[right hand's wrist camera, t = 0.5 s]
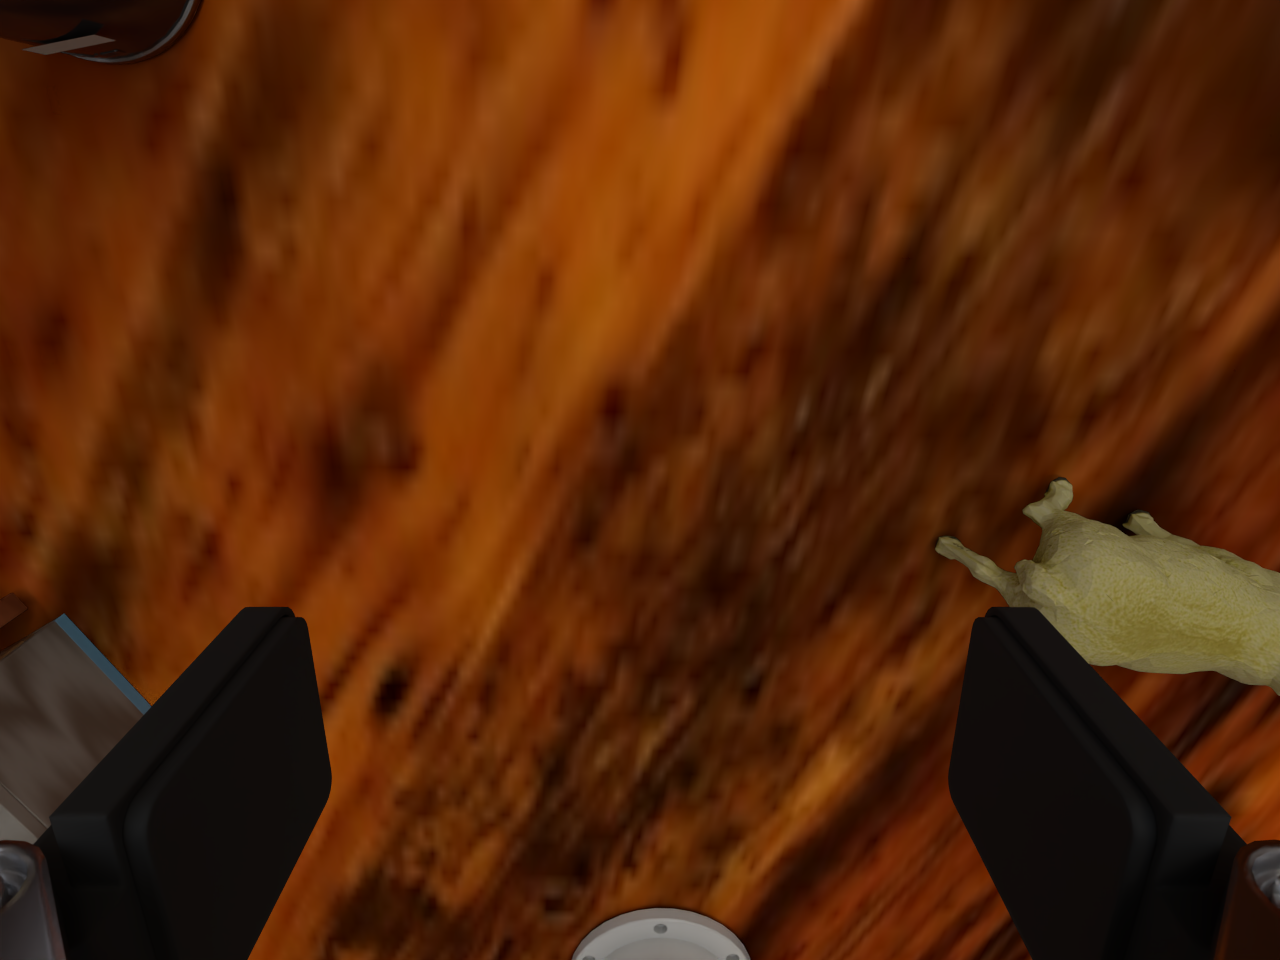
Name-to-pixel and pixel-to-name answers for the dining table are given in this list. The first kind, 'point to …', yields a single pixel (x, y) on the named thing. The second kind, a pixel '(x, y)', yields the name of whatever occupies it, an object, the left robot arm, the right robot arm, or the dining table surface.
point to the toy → (1141, 594)
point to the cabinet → (56, 723)
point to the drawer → (11, 618)
